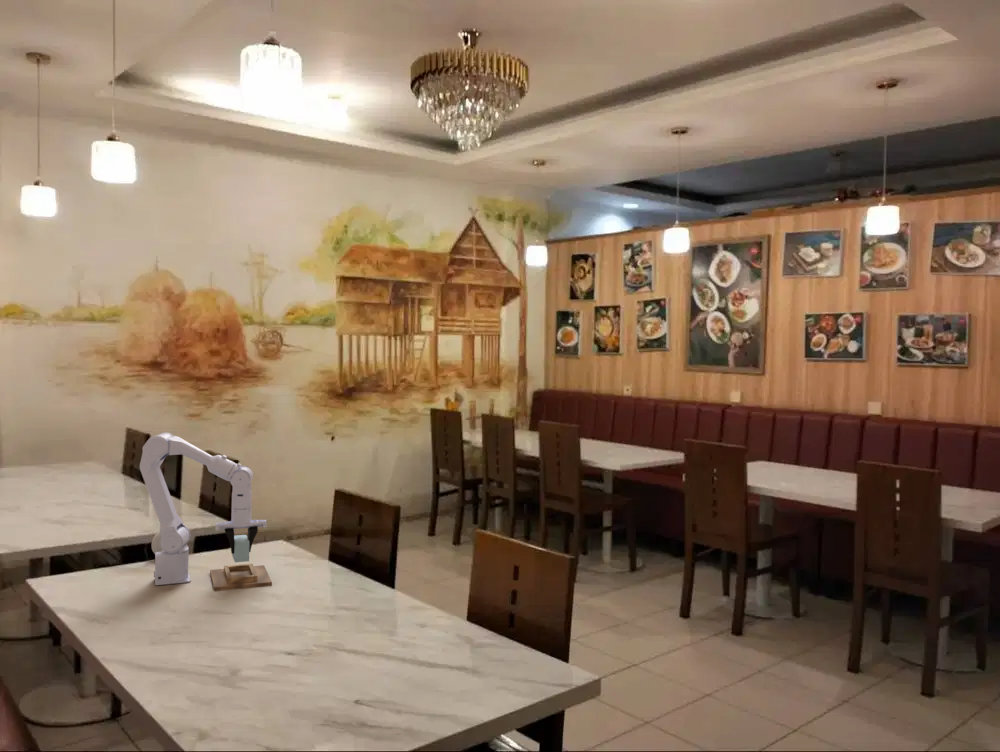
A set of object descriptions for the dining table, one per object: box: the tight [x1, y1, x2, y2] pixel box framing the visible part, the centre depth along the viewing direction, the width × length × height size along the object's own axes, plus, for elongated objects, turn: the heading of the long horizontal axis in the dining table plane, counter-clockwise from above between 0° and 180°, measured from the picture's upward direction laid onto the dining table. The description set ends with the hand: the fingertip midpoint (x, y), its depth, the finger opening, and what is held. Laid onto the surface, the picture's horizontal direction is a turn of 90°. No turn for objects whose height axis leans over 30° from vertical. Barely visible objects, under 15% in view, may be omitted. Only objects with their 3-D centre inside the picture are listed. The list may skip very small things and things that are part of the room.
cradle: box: [209, 563, 273, 592], centre depth 226 cm, size 16×18×2 cm
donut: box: [151, 530, 162, 555], centre depth 246 cm, size 10×4×10 cm, turn 139°
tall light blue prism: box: [231, 534, 250, 563], centre depth 227 cm, size 4×9×6 cm, turn 25°
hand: (240, 552), depth 226 cm, fingers closed on tall light blue prism, 4 cm apart
